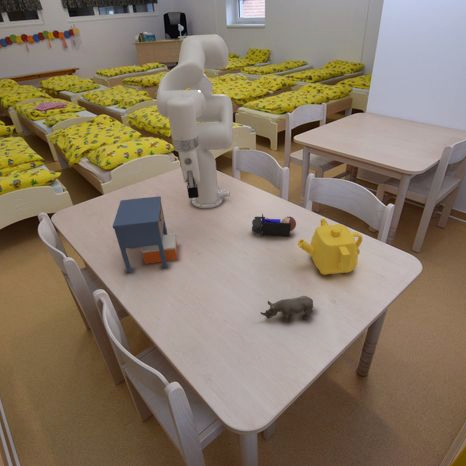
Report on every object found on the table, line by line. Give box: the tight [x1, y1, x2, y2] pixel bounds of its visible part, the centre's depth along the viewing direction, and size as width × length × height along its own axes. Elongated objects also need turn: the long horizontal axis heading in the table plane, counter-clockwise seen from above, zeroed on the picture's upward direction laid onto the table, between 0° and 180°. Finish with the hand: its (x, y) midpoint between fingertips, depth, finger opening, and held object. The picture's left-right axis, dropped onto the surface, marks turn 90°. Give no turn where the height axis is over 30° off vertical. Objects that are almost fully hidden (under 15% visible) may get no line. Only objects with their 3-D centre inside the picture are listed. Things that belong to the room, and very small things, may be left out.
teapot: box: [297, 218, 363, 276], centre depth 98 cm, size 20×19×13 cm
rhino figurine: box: [260, 295, 314, 323], centre depth 83 cm, size 4×14×6 cm, turn 97°
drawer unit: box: [112, 195, 168, 274], centre depth 104 cm, size 12×15×17 cm
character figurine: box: [251, 213, 297, 238], centre depth 114 cm, size 8×7×15 cm
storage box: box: [141, 233, 178, 265], centre depth 108 cm, size 10×8×5 cm
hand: (193, 196), depth 109 cm, fingers closed
